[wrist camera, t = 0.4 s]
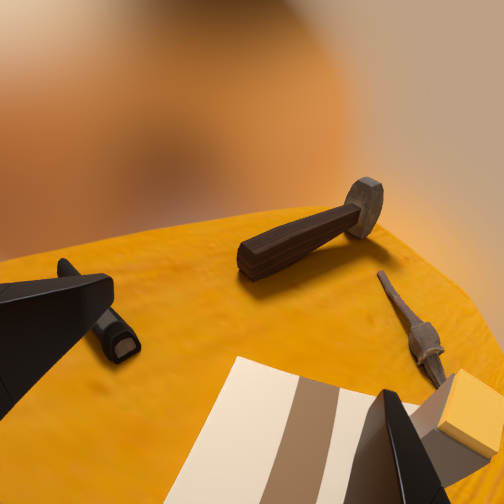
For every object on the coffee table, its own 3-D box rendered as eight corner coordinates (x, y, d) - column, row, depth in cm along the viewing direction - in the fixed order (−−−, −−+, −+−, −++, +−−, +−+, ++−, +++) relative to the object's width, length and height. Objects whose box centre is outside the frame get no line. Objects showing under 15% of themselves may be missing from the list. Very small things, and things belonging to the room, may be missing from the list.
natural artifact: (428, 404, 26) (429, 391, 24) (376, 277, 44) (371, 258, 42) (457, 390, 25) (461, 376, 23) (397, 268, 43) (394, 249, 41)
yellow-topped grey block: (398, 508, 14) (499, 456, 8) (353, 481, 17) (442, 421, 11) (421, 464, 18) (508, 397, 12) (381, 439, 20) (459, 365, 14)
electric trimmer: (78, 272, 34) (74, 251, 32) (145, 350, 26) (141, 328, 25) (54, 283, 31) (48, 262, 29) (114, 368, 24) (107, 347, 22)
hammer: (253, 307, 39) (372, 235, 55) (260, 237, 32) (388, 183, 48) (231, 286, 42) (353, 224, 58) (233, 217, 35) (367, 172, 51)
